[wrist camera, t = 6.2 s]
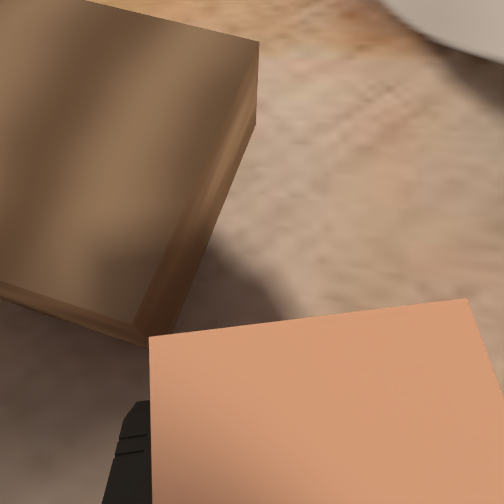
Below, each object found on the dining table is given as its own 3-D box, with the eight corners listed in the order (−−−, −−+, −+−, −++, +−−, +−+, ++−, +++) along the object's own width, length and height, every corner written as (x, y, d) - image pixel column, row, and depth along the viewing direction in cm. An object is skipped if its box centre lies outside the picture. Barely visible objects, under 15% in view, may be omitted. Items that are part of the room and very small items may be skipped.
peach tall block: (215, 561, 12) (159, 847, 4) (202, 391, 14) (148, 337, 6) (372, 535, 12) (632, 743, 4) (338, 372, 14) (466, 298, 6)
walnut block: (-98, 267, 17) (-226, 206, 12) (46, 74, 21) (-7, -22, 17) (164, 355, 15) (131, 324, 11) (255, 129, 20) (259, 41, 16)
